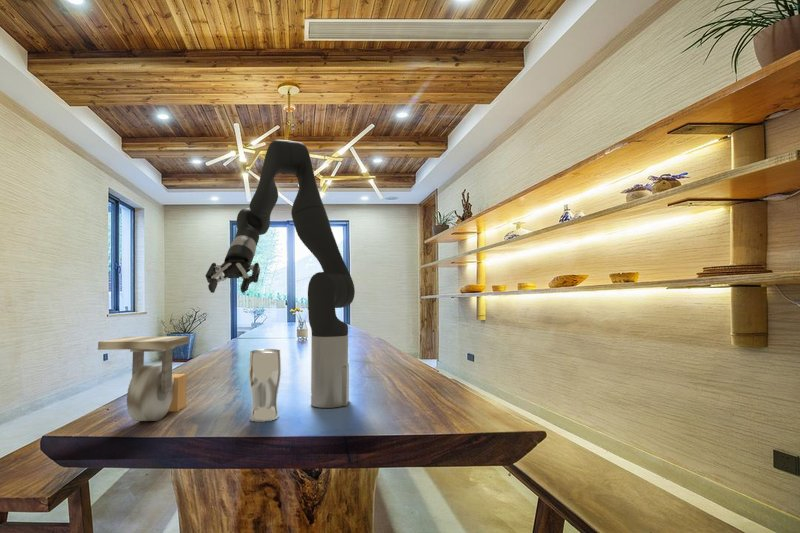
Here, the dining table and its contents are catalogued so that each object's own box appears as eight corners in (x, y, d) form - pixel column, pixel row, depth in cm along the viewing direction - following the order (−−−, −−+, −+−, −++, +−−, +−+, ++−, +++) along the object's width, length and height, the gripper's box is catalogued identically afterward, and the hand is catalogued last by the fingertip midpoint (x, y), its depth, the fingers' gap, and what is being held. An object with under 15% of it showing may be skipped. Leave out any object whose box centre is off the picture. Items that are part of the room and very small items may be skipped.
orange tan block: (186, 406, 109) (186, 373, 109) (177, 411, 104) (178, 377, 105) (165, 406, 108) (166, 374, 109) (156, 411, 104) (156, 377, 104)
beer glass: (286, 418, 98) (287, 350, 99) (258, 425, 93) (259, 354, 94) (270, 412, 103) (270, 348, 104) (242, 418, 98) (243, 351, 99)
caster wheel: (194, 411, 103) (196, 334, 104) (164, 430, 89) (167, 341, 90) (134, 412, 103) (136, 334, 104) (95, 431, 89) (98, 341, 90)
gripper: (214, 243, 131) (197, 281, 119) (262, 243, 131) (249, 280, 119) (220, 262, 136) (204, 300, 124) (267, 262, 136) (255, 300, 124)
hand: (226, 290), depth 122 cm, fingers open, 8 cm apart
